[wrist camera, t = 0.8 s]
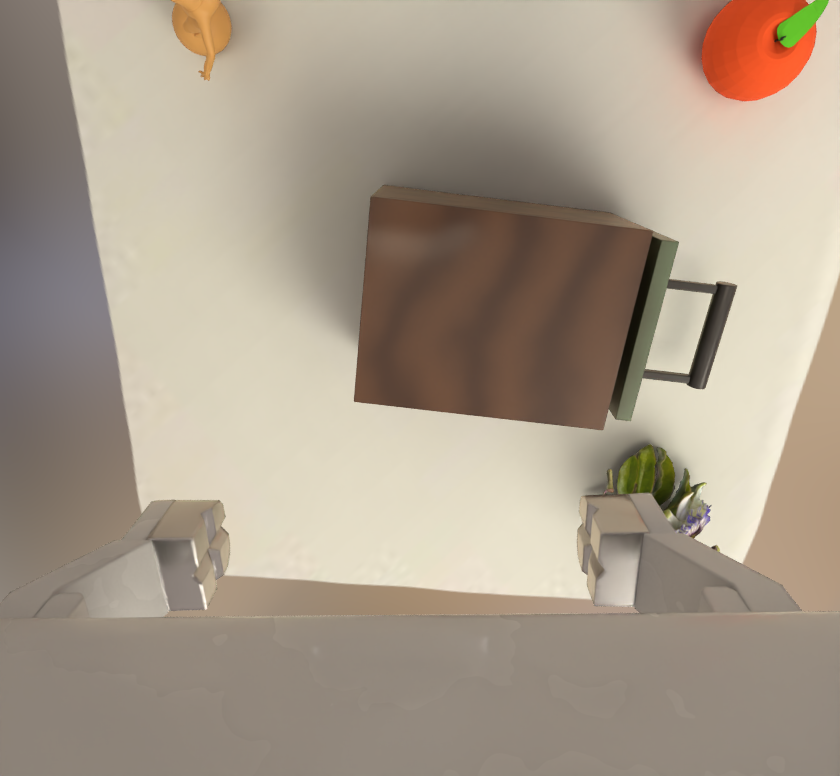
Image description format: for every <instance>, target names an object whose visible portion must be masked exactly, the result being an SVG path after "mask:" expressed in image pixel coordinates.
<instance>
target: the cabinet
mask: <svg viewBox="0 0 840 776" xmlns="http://www.w3.org/2000/svg"><path fill="white" fill-rule="evenodd" d="M652 235H653V231H652V230H650V229H647V228H645V227H643V226H640V225H638V224H636V223H633V222H631V221H628V220H626V219H624V218H621V217H619V216H617V215H614V214H612V213H609V212H601V211H592V210H584V209H576V208H568V207H560V206H552V205H544V204H535V203H527V202H519V201H511V200H503V199H495V198H486V197H478V196H470V195H462V194H454V193H446V192H438V191H429V190H421V189H413V188H405V187H397V186H389V185H383V186H382V187H381V188H380V189H379V190H378V191H377V192H376V193H374V194H373V195H372V196H371V198H370V210H369V222H368V235H367V247H366V259H365V271H364V284H363V296H362V308H361V320H360V333H359V345H358V357H357V370H356V382H355V394H354V402H361V403H369V404H378V405H387V406H396V407H404V408H413V409H422V410H431V411H439V412H448V413H457V414H466V415H474V416H483V417H492V418H500V419H509V420H518V421H527V422H535V423H544V424H553V425H562V426H570V427H579V428H588V429H596V430H603V429H604V425H605V421H606V417H607V413H608V409H609V405H610V401H611V397H612V393H613V389H614V385H615V381H616V377H617V373H618V369H619V365H620V361H621V357H622V354H623V350H624V346H625V342H626V338H627V334H628V330H629V326H630V322H631V318H632V314H633V310H634V306H635V302H636V298H637V294H638V290H639V286H640V282H641V278H642V274H643V270H644V267H645V263H646V259H647V255H648V251H649V247H650V243H651V239H652Z"/></svg>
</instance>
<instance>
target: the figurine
mask: <svg viewBox="0 0 840 776" xmlns="http://www.w3.org/2000/svg"><path fill="white" fill-rule="evenodd" d="M171 1H173V2H175V3H176V4H175V6H174V9H173V13H172V22H173V27H174V31H175V33H176V35H177V37H178V39H179V40H180V41H181V43H182V44H183V45H184V46H185V47H186V48H187V49H189V50H190V51H192V52H194V53H196V54H199V55H203V56H206V61H205V64H204V72H202V71H199V72H200V73H201V74H202V75H201V77H204V80H206V79H207V80H208V81H209V80H210V71H211V69H212V66H213V62H214V60H215V54H217V53H219V52H221V51H222V50H223V49H224V48H225V47H226V45H227V44H228V42H229V40H230V36H231V21H230V17H229V14H228V12H227V10H226V9H225V7H224V6H223V4H222V3H221V2H220V0H171Z"/></svg>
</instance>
